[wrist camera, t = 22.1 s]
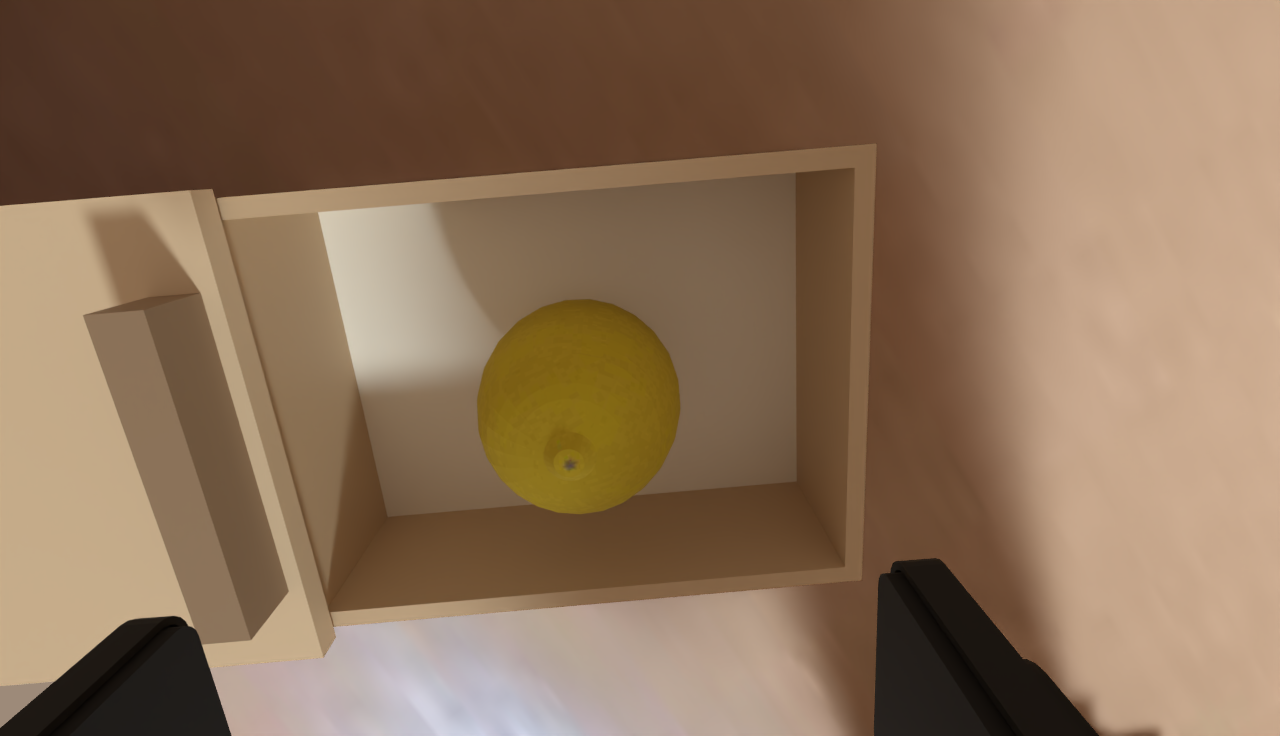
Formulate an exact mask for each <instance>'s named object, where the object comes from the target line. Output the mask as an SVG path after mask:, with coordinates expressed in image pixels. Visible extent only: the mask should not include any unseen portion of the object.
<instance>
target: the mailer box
mask: <svg viewBox="0 0 1280 736" xmlns="http://www.w3.org/2000/svg"><path fill="white" fill-rule="evenodd" d="M876 153H877V143H875V144H863V145H851V146H839V147H827V148H815V149H803V150H791V151H779V152H767V153H755V154H742V155H730V156H718V157H706V158H694V159H682V160H670V161H658V162H646V163H634V164H622V165H610V166H597V167H585V168H573V169H561V170H549V171H537V172H525V173H513V174H501V175H489V176H477V177H465V178H453V179H440V180H428V181H416V182H404V183H392V184H380V185H368V186H356V187H344V188H332V189H320V190H308V191H295V192H283V193H271V194H259V195H247V196H235V197H223V198H215V200H216V204H217V207H218V211H219V215H220V218H221V222H222V226H223V229H224V233H225V236H226V240H227V244H228V247H229V251H230V255H231V258H232V262H233V265H234V269H235V273H236V276H237V280H238V284H239V287H240V291H241V294H242V298H243V302H244V305H245V309H246V313H247V316H248V320H249V324H250V327H251V331H252V334H253V338H254V342H255V345H256V349H257V353H258V356H259V360H260V363H261V367H262V371H263V374H264V378H265V382H266V385H267V389H268V392H269V396H270V400H271V403H272V407H273V411H274V414H275V418H276V421H277V425H278V429H279V432H280V436H281V440H282V443H283V447H284V451H285V454H286V458H287V461H288V465H289V469H290V472H291V476H292V480H293V483H294V487H295V490H296V494H297V498H298V501H299V505H300V509H301V512H302V516H303V519H304V523H305V527H306V530H307V534H308V538H309V541H310V545H311V548H312V552H313V556H314V559H315V563H316V567H317V570H318V574H319V578H320V581H321V585H322V588H323V592H324V596H325V599H326V603H327V607H328V610H329V614H330V617H331V621H332V625H333V627H337V626H348V625H359V624H371V623H382V622H394V621H405V620H416V619H428V618H439V617H450V616H462V615H473V614H485V613H496V612H507V611H519V610H530V609H542V608H553V607H564V606H576V605H587V604H599V603H610V602H621V601H633V600H644V599H656V598H667V597H678V596H690V595H701V594H713V593H724V592H735V591H747V590H758V589H770V588H781V587H792V586H804V585H815V584H827V583H838V582H849V581H861V580H862V564H863V535H864V506H865V476H866V447H867V417H868V388H869V358H870V329H871V300H872V270H873V241H874V211H875V182H876ZM579 299H592V300H597V301H601V302H606V303H611V304H614V305H616V306H618V307H620V308H622V309H624V310H626V311H628V312H630V313H632V314H634V315H636V316H637V317H638V318H639V319H640V320H641V321H643V322H644V323H645V324H646V325H647V326H648V327H650V328H651V329H652V330H653V331H654V332H655V334H656V335H657V337H658V338H659V339H660V341H661V342H662V344H663V345H664V347H665V348H666V349H667V351H668V352H669V354H670V357H671V360H672V363H673V366H674V368H675V371H676V374H677V377H678V381H679V394H680V407H681V409H680V416H679V421H678V426H677V432H676V437H675V440H674V443H673V445H672V447H671V449H670V451H669V453H668V455H667V457H666V459H665V461H664V463H663V465H662V467H661V468H660V470H659V471H658V472H657V474H656V475H655V476H654V477H653V478H652V479H651V480H650V482H649V483H648V484H647V485H646V486H645V487H644V488H643V489H642V490H641V491H639V492H638V493H636V494H635V495H634V496H632V497H631V498H629V499H628V500H627V501H625V502H624V503H622V504H619V505H617V506H614V507H611V508H609V509H606V510H604V511H599V512H592V513H586V514H569V513H557V512H554V511H551V510H548V509H544V508H541V507H538V506H535V505H534V504H532V503H530V502H528V501H527V500H525V499H523V498H522V497H520V496H518V495H517V494H516V493H514V492H513V491H512V490H511V489H510V488H509V487H508V486H507V485H506V484H505V483H504V482H503V481H502V480H501V479H500V478H499V476H498V475H497V473H496V471H495V470H494V468H493V467H492V465H491V464H490V462H489V461H488V459H487V457H486V454H485V451H484V448H483V445H482V442H481V438H480V435H479V431H478V413H477V396H478V392H479V387H480V383H481V379H482V374H483V370H484V367H485V365H486V363H487V362H488V360H489V358H490V356H491V354H492V352H493V351H494V349H495V347H496V345H497V343H498V342H499V341H500V339H501V338H502V337H503V336H504V335H505V334H506V333H507V332H508V331H509V330H510V329H511V328H512V327H513V326H514V325H515V324H516V323H517V322H518V321H519V320H521V319H522V318H524V317H526V316H527V315H529V314H531V313H532V312H534V311H536V310H537V309H539V308H541V307H543V306H547V305H550V304H554V303H557V302H561V301H564V300H579Z"/></svg>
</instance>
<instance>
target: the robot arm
mask: <svg viewBox="0 0 1280 736" xmlns="http://www.w3.org/2000/svg"><path fill="white" fill-rule="evenodd" d="M0 736H231V733H230V730H229V727H228V724H227V720H226V717H225V714H224V711H223V708H222V705H221V702H220V699H219V696H218V693H217V690H216V687H215V684H214V681H213V677H212V674H211V671H210V668H209V665H208V662H207V659H206V656H205V653H204V650H203V647H202V644H201V641H200V637H199V635H198V633H197V631H196V630H195V629H194V628H193V627H190V626H188V624H187V622H186V621H185V620H184V619H182V618H181V617H178V616H164V617H151V618H138V619H132V620H128V621H126V622H125V623H123V624H122V625H120V626H119V627H118V628H117V629H115V630H114V631H113V632H112V633H111V634H110V635H108V636H107V637H106V638H105V639H104V640H103V641H101V642H100V643H99V644H98V645H97V646H96V647H94V648H93V649H92V650H91V651H90V652H89V653H87V654H86V655H85V656H84V657H83V658H82V659H80V660H79V661H78V662H77V663H76V664H75V665H73V666H72V667H71V668H70V669H69V670H68V671H66V672H65V673H64V674H63V675H62V676H61V677H59V678H58V679H57V680H56V681H55V682H54V683H52V684H51V685H50V686H49V687H48V688H47V689H46V690H44V691H43V692H42V693H41V694H40V695H38V696H37V697H36V698H35V699H34V700H33V701H31V702H30V703H29V704H28V705H27V706H26V707H25V708H23V709H22V710H21V711H20V712H19V713H17V714H16V715H15V716H14V717H13V718H12V719H10V720H9V721H8V722H7V723H6V724H5V725H3V726H2V727H1V728H0ZM874 736H1099V735H1098V734H1097V733H1096V732H1095V730H1094V729H1093V728H1092V727H1091V726H1090V724H1089V723H1088V722H1087V721H1086V720H1085V719H1084V717H1083V716H1082V715H1081V714H1080V713H1079V711H1078V710H1077V709H1076V708H1075V707H1074V706H1073V704H1072V703H1071V702H1070V701H1069V700H1068V698H1067V697H1066V696H1065V695H1064V694H1063V693H1062V691H1061V690H1060V689H1059V688H1058V687H1057V686H1056V684H1055V683H1054V682H1053V681H1052V680H1051V678H1050V677H1049V676H1048V675H1047V674H1046V673H1045V672H1044V671H1043V670H1042V669H1041V668H1040V667H1039V666H1038V665H1037V664H1036V663H1034V662H1031V661H1029V660H1027V659H1023V658H1022V657H1021V656H1020V655H1019V654H1018V652H1017V651H1016V650H1015V649H1014V648H1013V646H1012V645H1011V644H1010V643H1009V641H1008V640H1007V639H1006V638H1005V637H1004V635H1003V634H1002V633H1001V632H1000V631H999V629H998V628H997V627H996V626H995V624H994V623H993V622H992V621H991V620H990V618H989V617H988V616H987V615H986V614H985V612H984V611H983V610H982V609H981V607H980V606H979V605H978V604H977V603H976V601H975V600H974V599H973V598H972V597H971V595H970V594H969V593H968V592H967V591H966V589H965V588H964V587H963V586H962V584H961V583H960V582H959V581H958V580H957V578H956V577H955V576H954V575H953V574H952V572H951V571H950V570H949V569H948V567H947V566H946V565H945V564H944V563H943V562H942V561H941V560H940V559H936V558H934V559H921V560H908V561H896V562H894V563H893V565H892V567H891V573H885V574H881V575H880V577H879V583H878V613H877V647H876V681H875V715H874Z"/></svg>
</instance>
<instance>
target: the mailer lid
mask: <svg viewBox="0 0 1280 736" xmlns="http://www.w3.org/2000/svg"><path fill="white" fill-rule="evenodd" d="M164 616H178V617H181V618H182V619H184V620H185V621H186V622H187V624H188V626H190V627H193V628H194V629H195V630H196V631H197V633H198V635H199V637H200V641H201V644H202V647H203V650H204V653H205V656H206V659H207V662H208V665H209V668H212V667H224V666H235V665H246V664H258V663H269V662H280V661H292V660H303V659H314V658H324V656H325V654H326V653H327V651H328V649H329V648H330V646H331V644H332V643H333V641H334V639H335V638H336V636H335V632H334V628H333V625H332V621H331V617H330V614H329V610H328V607H327V603H326V599H325V596H324V592H323V588H322V585H321V581H320V578H319V574H318V570H317V567H316V563H315V559H314V556H313V552H312V548H311V545H310V541H309V538H308V534H307V530H306V527H305V523H304V519H303V516H302V512H301V509H300V505H299V501H298V498H297V494H296V490H295V487H294V483H293V480H292V476H291V472H290V469H289V465H288V461H287V458H286V454H285V451H284V447H283V443H282V440H281V436H280V432H279V429H278V425H277V421H276V418H275V414H274V411H273V407H272V403H271V400H270V396H269V392H268V389H267V385H266V382H265V378H264V374H263V371H262V367H261V363H260V360H259V356H258V353H257V349H256V345H255V342H254V338H253V334H252V331H251V327H250V324H249V320H248V316H247V313H246V309H245V305H244V302H243V298H242V294H241V291H240V287H239V284H238V280H237V276H236V273H235V269H234V265H233V262H232V258H231V255H230V251H229V247H228V244H227V240H226V236H225V233H224V229H223V226H222V222H221V218H220V215H219V211H218V207H217V204H216V200H215V196H214V193H213V189H204V190H187V191H175V192H163V193H151V194H138V195H126V196H114V197H102V198H90V199H78V200H66V201H54V202H42V203H30V204H17V205H5V206H0V686H8V685H18V684H30V683H42V682H53V681H56V680H57V679H58V678H59V677H61V676H62V675H63V674H64V673H65V672H66V671H68V670H69V669H70V668H71V667H72V666H73V665H75V664H76V663H77V662H78V661H79V660H80V659H82V658H83V657H84V656H85V655H86V654H87V653H89V652H90V651H91V650H92V649H93V648H94V647H96V646H97V645H98V644H99V643H100V642H101V641H103V640H104V639H105V638H106V637H107V636H108V635H110V634H111V633H112V632H113V631H114V630H115V629H117V628H118V627H119V626H120V625H122V624H123V623H125V622H126V621H128V620H132V619H138V618H151V617H164Z"/></svg>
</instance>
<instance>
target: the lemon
mask: <svg viewBox="0 0 1280 736" xmlns="http://www.w3.org/2000/svg"><path fill="white" fill-rule="evenodd" d="M680 409H681V407H680V394H679V381H678V377H677V374H676V371H675V368H674V366H673V363H672V360H671V357H670V354H669V352H668V351H667V349H666V348H665V347H664V345H663V344H662V342H661V341H660V339H659V338H658V337H657V335H656V334H655V332H654V331H653V330H652V329H651V328H650V327H648V326H647V325H646V324H645V323H644V322H643V321H641V320H640V319H639V318H638V317H637V316H636V315H634V314H632V313H630V312H628V311H626V310H624V309H622V308H620V307H618V306H616V305H614V304H611V303H606V302H601V301H597V300H592V299H579V300H564V301H561V302H557V303H554V304H550V305H547V306H543V307H541V308H539V309H537V310H536V311H534V312H532V313H531V314H529V315H527V316H526V317H524V318H522V319H521V320H519V321H518V322H517V323H516V324H515V325H514V326H513V327H512V328H511V329H510V330H509V331H508V332H507V333H506V334H505V335H504V336H503V337H502V338H501V339H500V341H499V342H498V343H497V345H496V347H495V349H494V351H493V352H492V354H491V356H490V358H489V360H488V362H487V363H486V365H485V367H484V370H483V374H482V379H481V383H480V387H479V392H478V396H477V413H478V431H479V435H480V438H481V442H482V445H483V448H484V451H485V454H486V457H487V459H488V461H489V462H490V464H491V465H492V467H493V468H494V470H495V471H496V473H497V475H498V476H499V478H500V479H501V480H502V481H503V482H504V483H505V484H506V485H507V486H508V487H509V488H510V489H511V490H512V491H513V492H514V493H516V494H517V495H518V496H520V497H522V498H523V499H525V500H527V501H528V502H530V503H532V504H534V505H535V506H538V507H541V508H544V509H548V510H551V511H554V512H557V513H569V514H586V513H592V512H599V511H604V510H606V509H609V508H611V507H614V506H617V505H619V504H622V503H624V502H625V501H627V500H628V499H629V498H631V497H632V496H634V495H635V494H636V493H638V492H639V491H641V490H642V489H643V488H644V487H645V486H646V485H647V484H648V483H649V482H650V480H651V479H652V478H653V477H654V476H655V475H656V474H657V472H658V471H659V470H660V468H661V467H662V465H663V463H664V461H665V459H666V457H667V455H668V453H669V451H670V449H671V447H672V445H673V443H674V440H675V437H676V432H677V426H678V421H679V416H680Z"/></svg>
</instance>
